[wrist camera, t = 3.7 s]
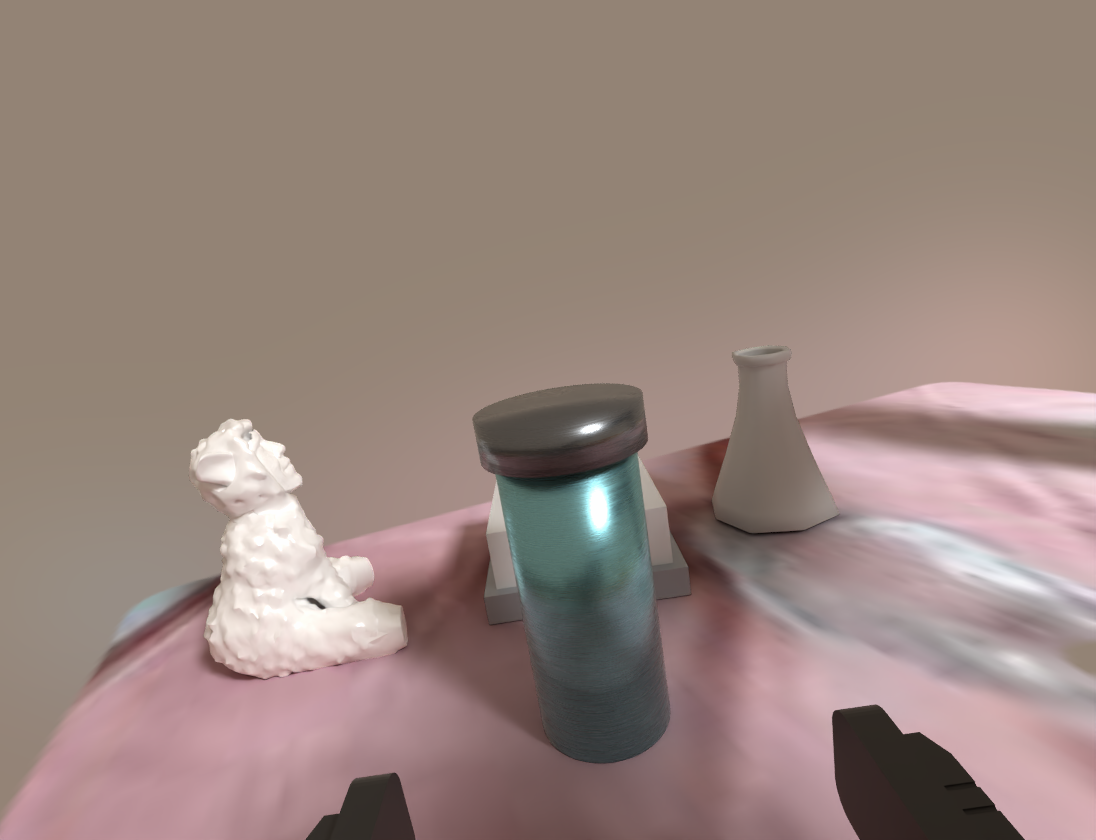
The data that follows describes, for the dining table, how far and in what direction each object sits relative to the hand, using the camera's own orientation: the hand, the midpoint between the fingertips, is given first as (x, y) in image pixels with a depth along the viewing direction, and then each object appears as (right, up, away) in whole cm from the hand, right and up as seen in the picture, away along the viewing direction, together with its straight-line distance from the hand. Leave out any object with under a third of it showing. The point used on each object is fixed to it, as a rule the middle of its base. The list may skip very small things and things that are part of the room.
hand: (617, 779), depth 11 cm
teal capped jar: (+1, -4, +12) cm, 12 cm away
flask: (+13, +1, +26) cm, 29 cm away
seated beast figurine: (-13, -5, +20) cm, 24 cm away
